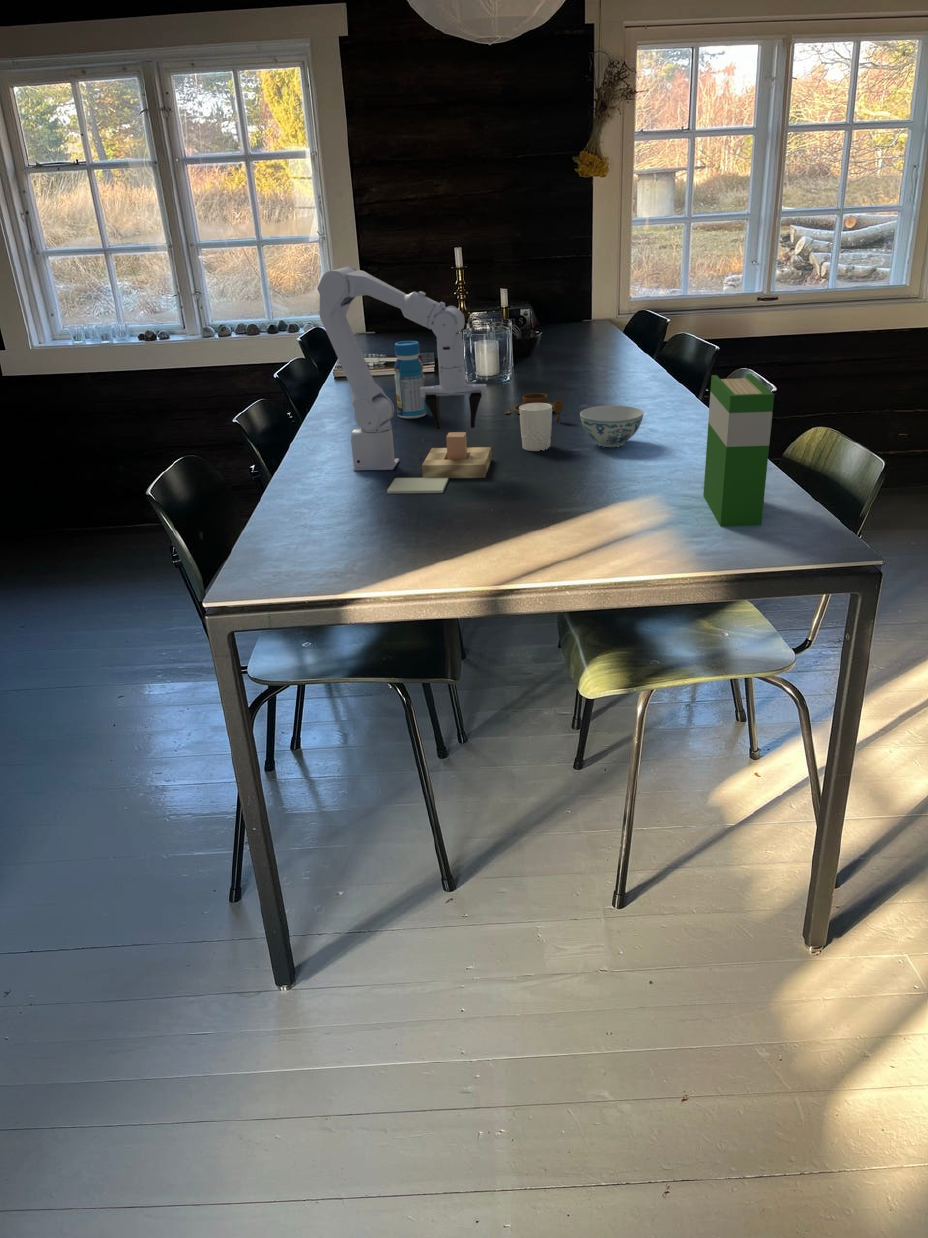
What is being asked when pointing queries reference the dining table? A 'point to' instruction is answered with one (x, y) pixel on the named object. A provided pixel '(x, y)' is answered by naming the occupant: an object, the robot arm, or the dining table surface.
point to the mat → (418, 485)
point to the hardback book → (737, 450)
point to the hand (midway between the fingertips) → (456, 427)
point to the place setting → (539, 399)
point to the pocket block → (457, 464)
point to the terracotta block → (456, 445)
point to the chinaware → (611, 424)
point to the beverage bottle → (409, 380)
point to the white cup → (535, 426)
